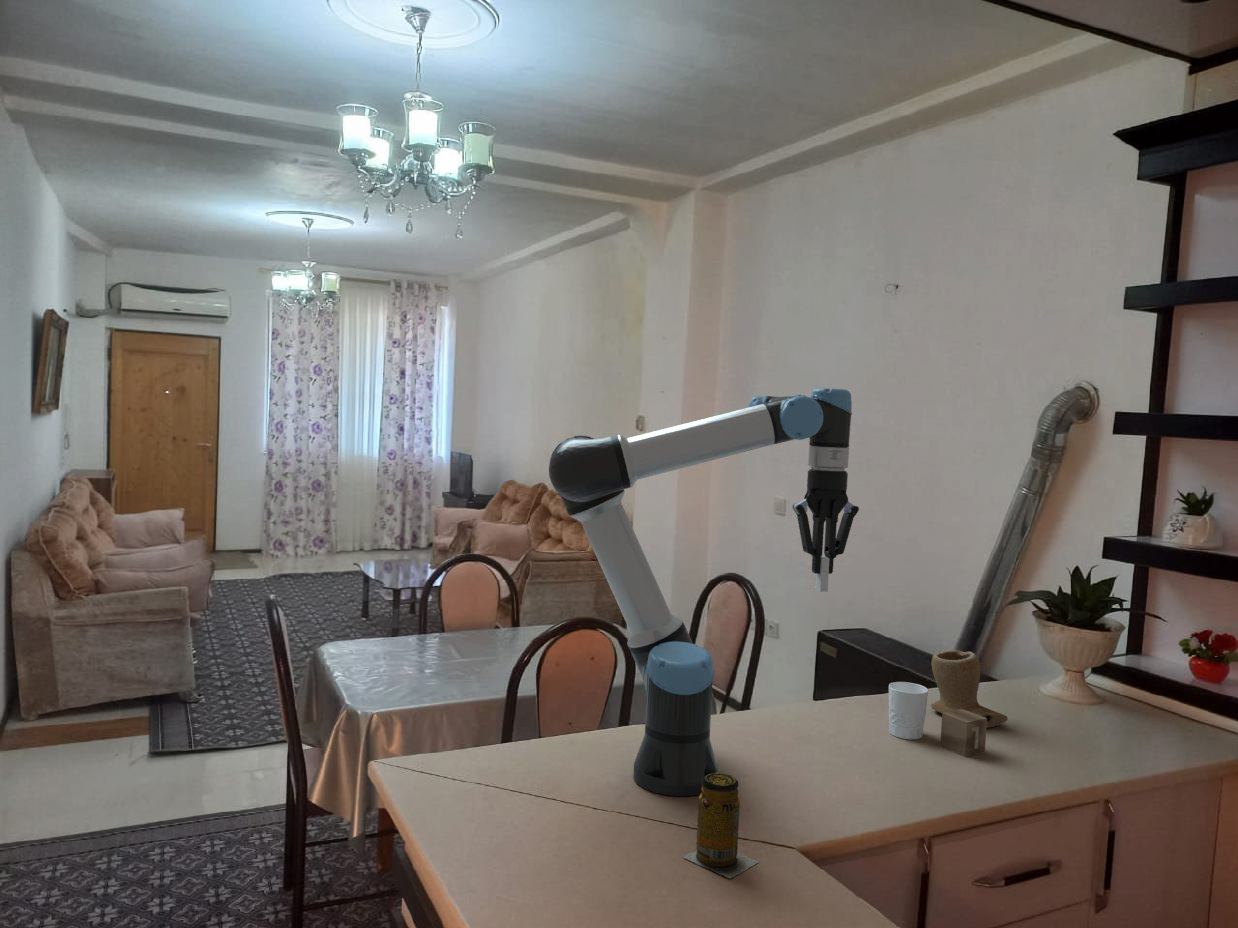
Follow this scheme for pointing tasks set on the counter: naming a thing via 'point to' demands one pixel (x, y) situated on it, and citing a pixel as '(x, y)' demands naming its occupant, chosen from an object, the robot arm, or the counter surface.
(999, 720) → the stone cup
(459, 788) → the counter surface
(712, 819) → the condiment
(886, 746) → the counter surface
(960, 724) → the marked walnut block
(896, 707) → the white cup
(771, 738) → the counter surface
